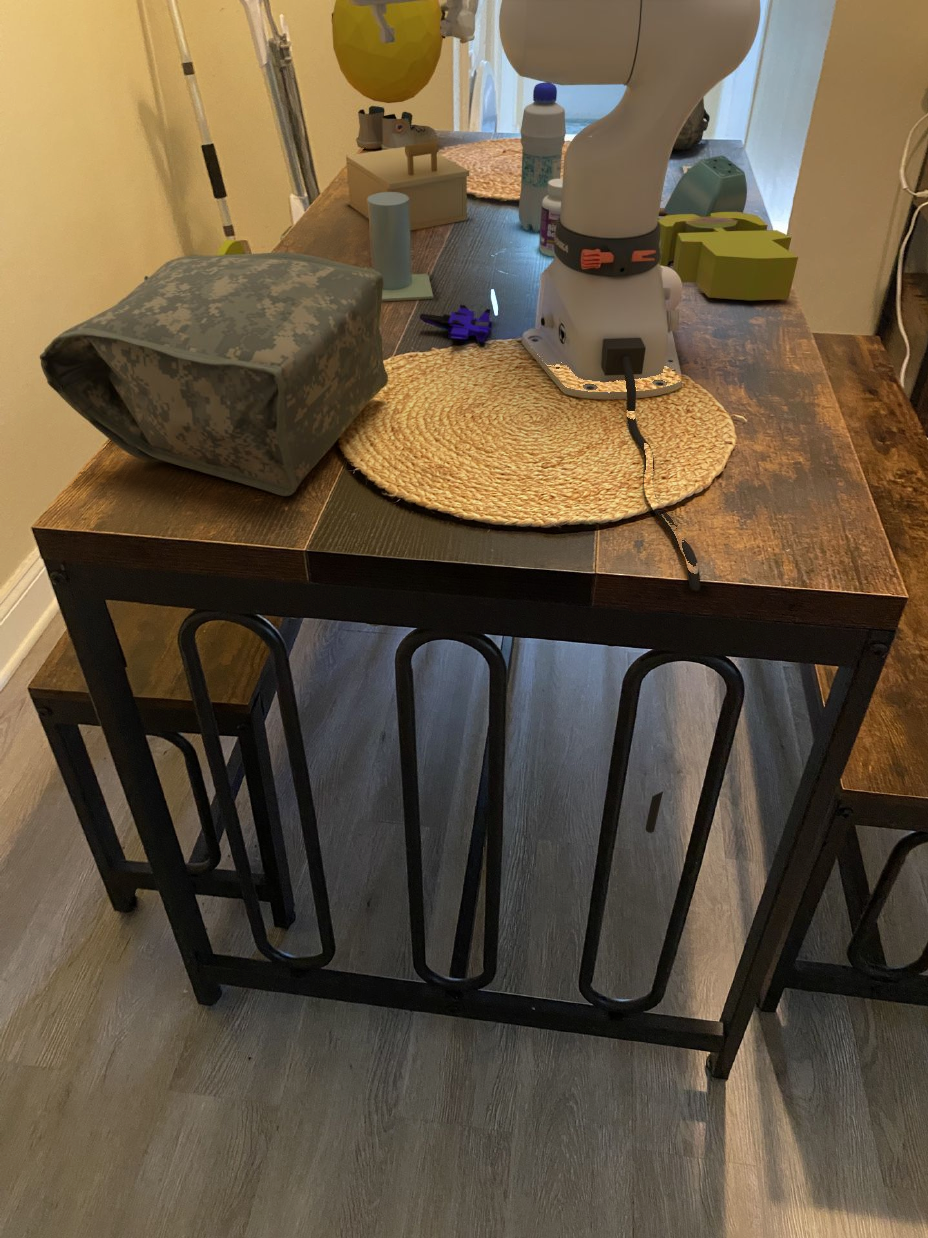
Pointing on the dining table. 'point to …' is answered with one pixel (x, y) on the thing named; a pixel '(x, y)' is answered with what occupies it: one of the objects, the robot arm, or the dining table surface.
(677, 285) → the egg
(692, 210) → the flower pot
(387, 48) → the toy
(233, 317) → the lunch bag
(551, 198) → the pill bottle
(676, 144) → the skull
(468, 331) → the toy spaceship
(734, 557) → the dining table surface
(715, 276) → the toy
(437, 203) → the chest
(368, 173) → the lid
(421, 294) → the mat
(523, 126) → the bottle
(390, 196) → the grey cylinder
